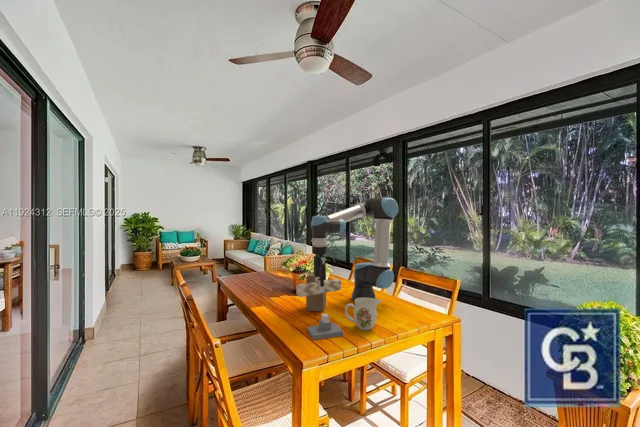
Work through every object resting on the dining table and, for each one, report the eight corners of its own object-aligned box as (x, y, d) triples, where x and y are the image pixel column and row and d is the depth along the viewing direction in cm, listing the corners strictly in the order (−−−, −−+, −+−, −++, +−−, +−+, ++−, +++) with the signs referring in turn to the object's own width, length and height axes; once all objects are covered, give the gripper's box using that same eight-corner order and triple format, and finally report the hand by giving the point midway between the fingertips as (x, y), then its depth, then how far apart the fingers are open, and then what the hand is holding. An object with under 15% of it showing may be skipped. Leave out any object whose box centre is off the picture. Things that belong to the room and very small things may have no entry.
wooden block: (323, 312, 163) (323, 276, 163) (305, 311, 165) (305, 275, 165) (326, 306, 173) (326, 272, 173) (309, 305, 175) (310, 272, 175)
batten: (336, 287, 159) (336, 278, 159) (341, 289, 155) (341, 280, 155) (296, 294, 146) (296, 284, 146) (300, 297, 143) (300, 286, 142)
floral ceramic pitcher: (346, 321, 151) (346, 294, 150) (382, 324, 146) (382, 297, 146) (342, 329, 140) (343, 301, 140) (381, 333, 136) (381, 304, 135)
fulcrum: (335, 327, 143) (335, 309, 143) (343, 335, 133) (343, 317, 133) (307, 330, 139) (307, 313, 138) (313, 339, 129) (313, 320, 129)
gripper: (307, 244, 158) (307, 287, 158) (317, 248, 140) (318, 296, 141) (320, 243, 160) (321, 285, 161) (332, 247, 143) (332, 295, 143)
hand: (319, 290), depth 151 cm, fingers closed on batten, 5 cm apart
